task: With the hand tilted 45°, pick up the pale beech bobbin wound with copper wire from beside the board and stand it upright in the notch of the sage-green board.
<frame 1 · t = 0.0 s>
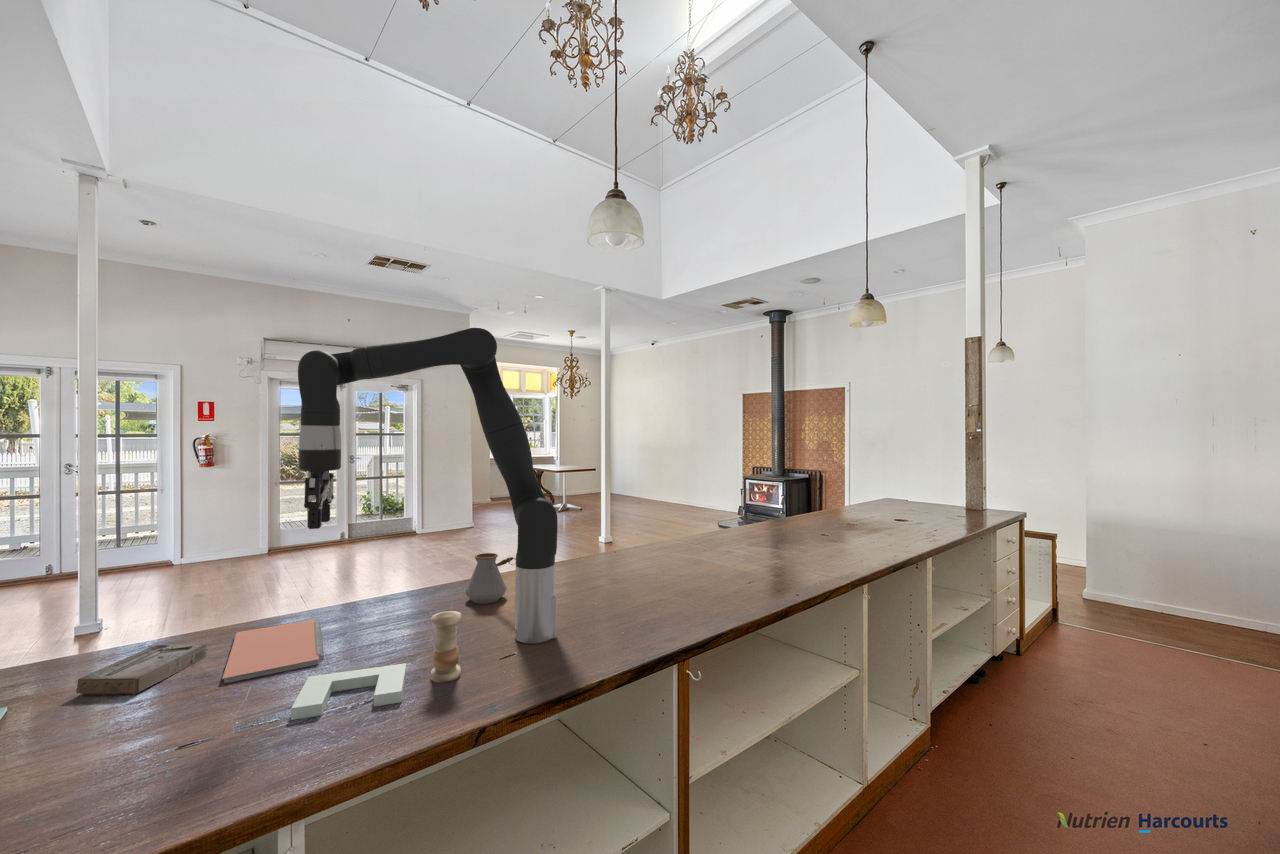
hand: (319, 525, 108), 29 cm above the counter, tool pointing down, fingers open, 8 cm apart
box: (147, 678, 103), on the counter
coffee pot: (494, 604, 147), on the counter
bobbin: (445, 675, 103), on the counter
notched board: (353, 694, 96), on the counter
notebook: (278, 653, 115), on the counter
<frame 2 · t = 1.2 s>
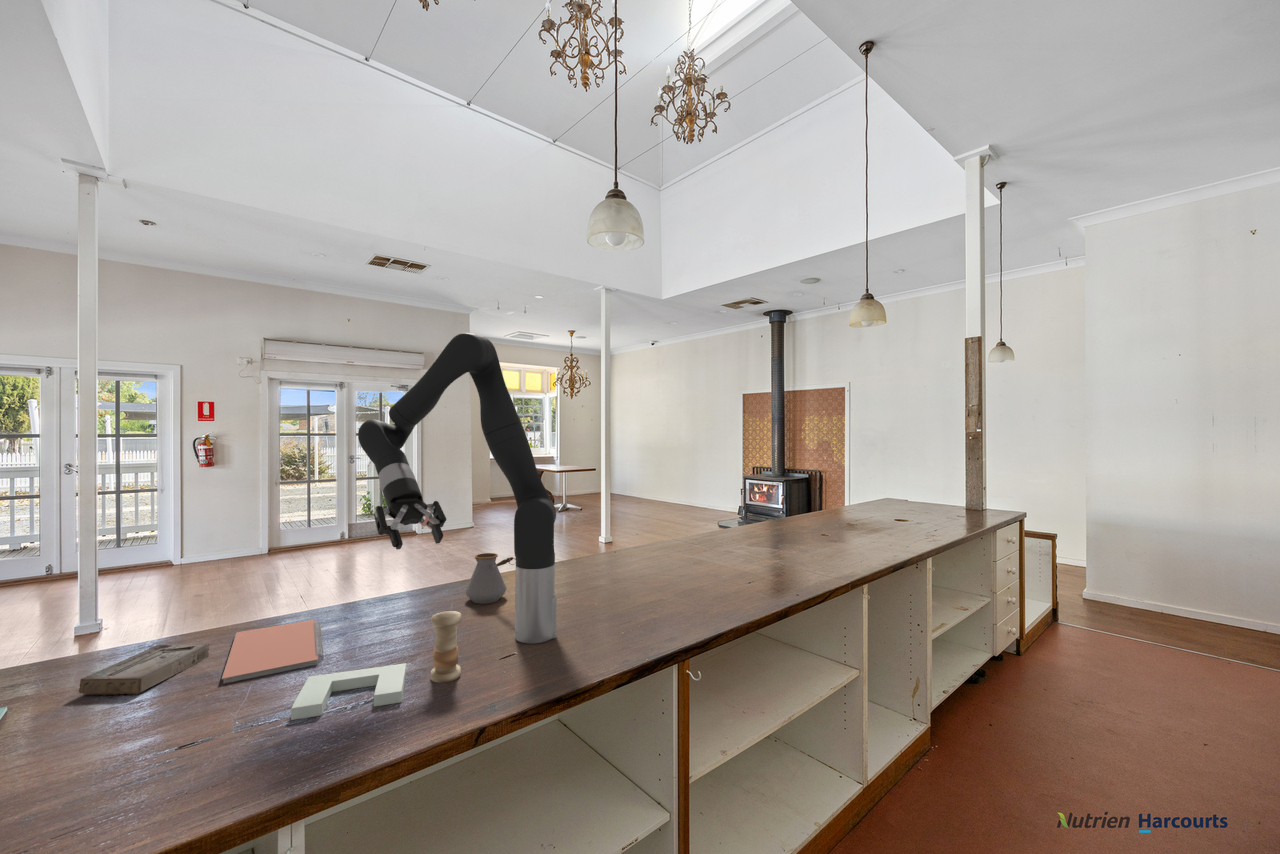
hand: (420, 544, 112), 25 cm above the counter, tool tilted 45°, fingers open, 8 cm apart
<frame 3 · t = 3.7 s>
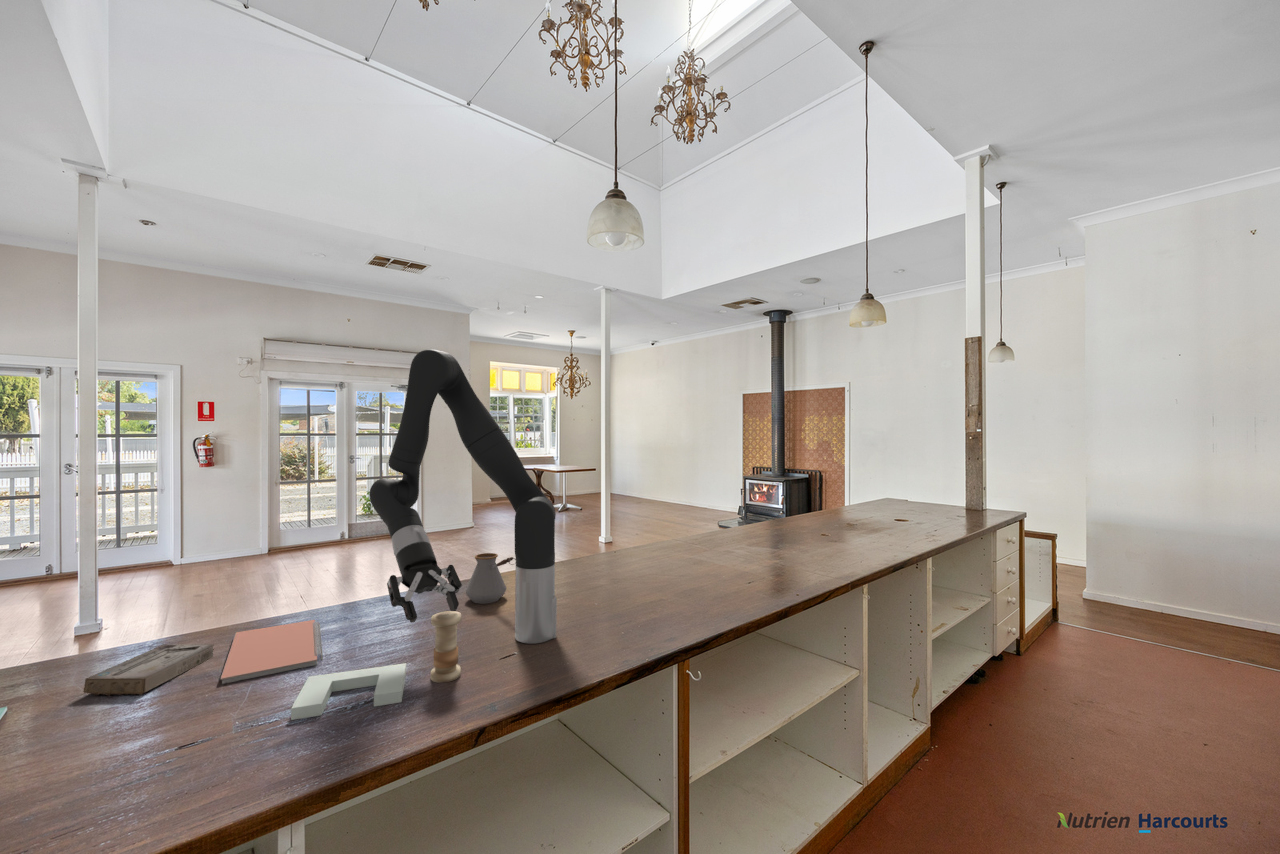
hand: (435, 615, 107), 11 cm above the counter, tool tilted 45°, fingers open, 8 cm apart
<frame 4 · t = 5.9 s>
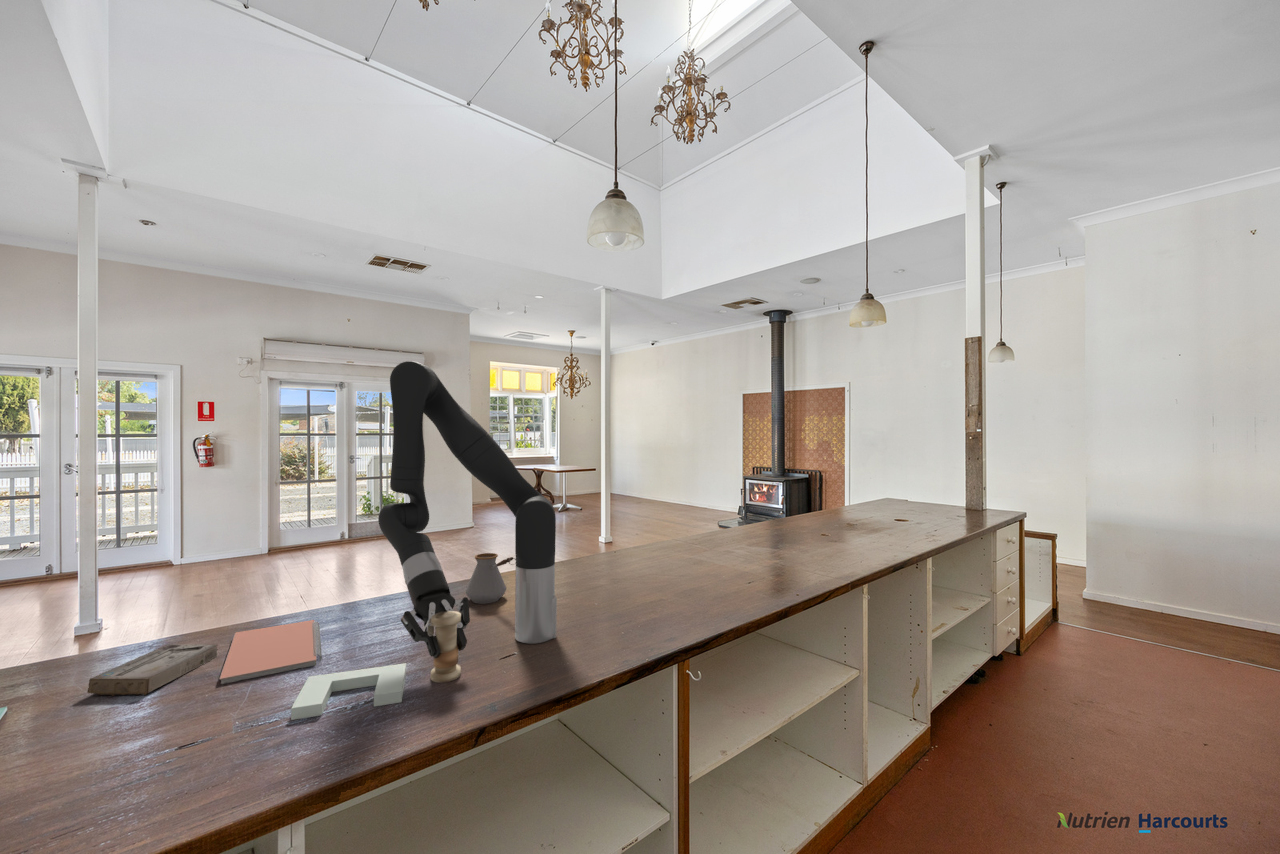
hand: (450, 651, 102), 5 cm above the counter, tool tilted 45°, fingers closed on bobbin, 4 cm apart
bobbin: (445, 675, 103), on the counter, touching gripper
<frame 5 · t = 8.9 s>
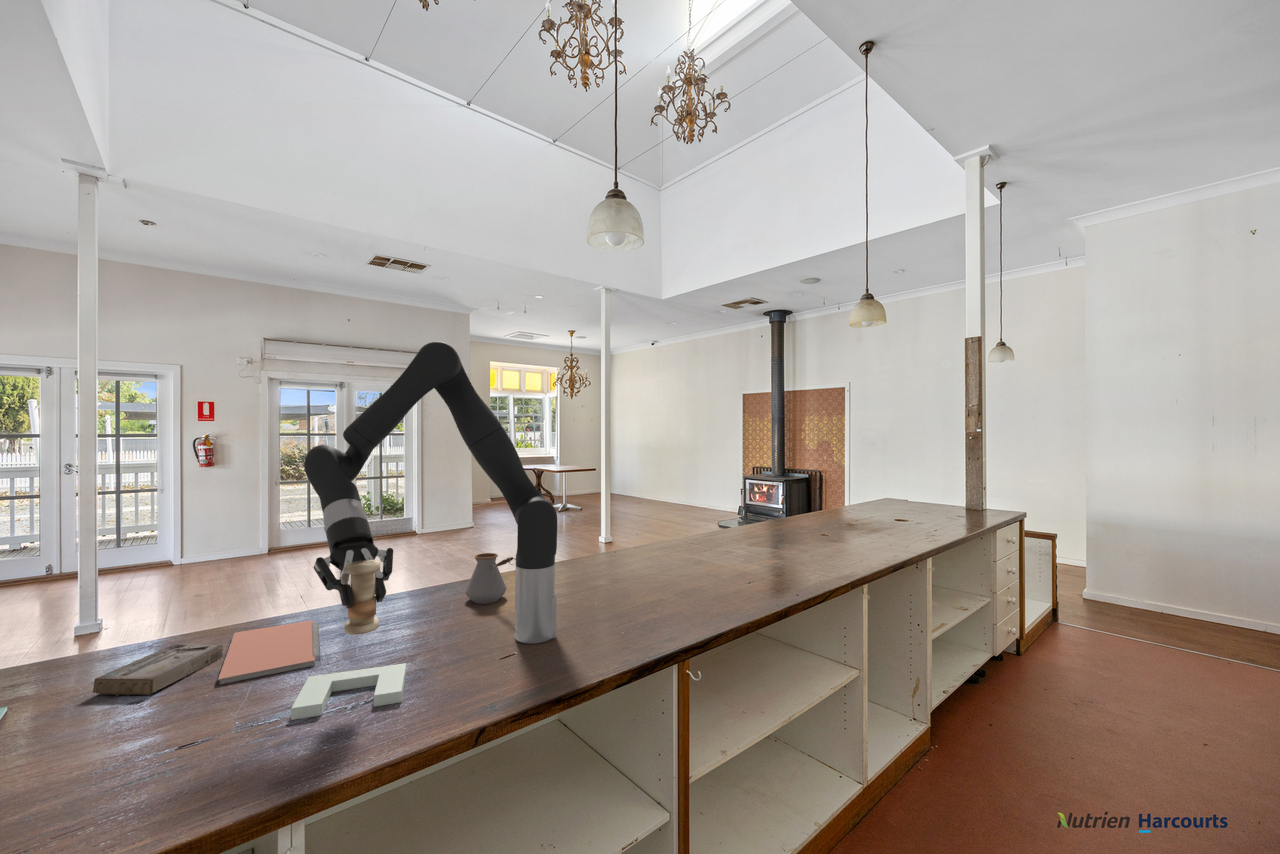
hand: (366, 602, 94), 18 cm above the counter, tool tilted 45°, fingers closed on bobbin, 4 cm apart
box: (163, 678, 103), on the counter
bobbin: (361, 628, 96), point 12 cm above the counter, touching gripper
everything else where it was.
when the fingers open (7 cm above the counter, at t = 12.1 s): bobbin drops 1 cm, on the counter.
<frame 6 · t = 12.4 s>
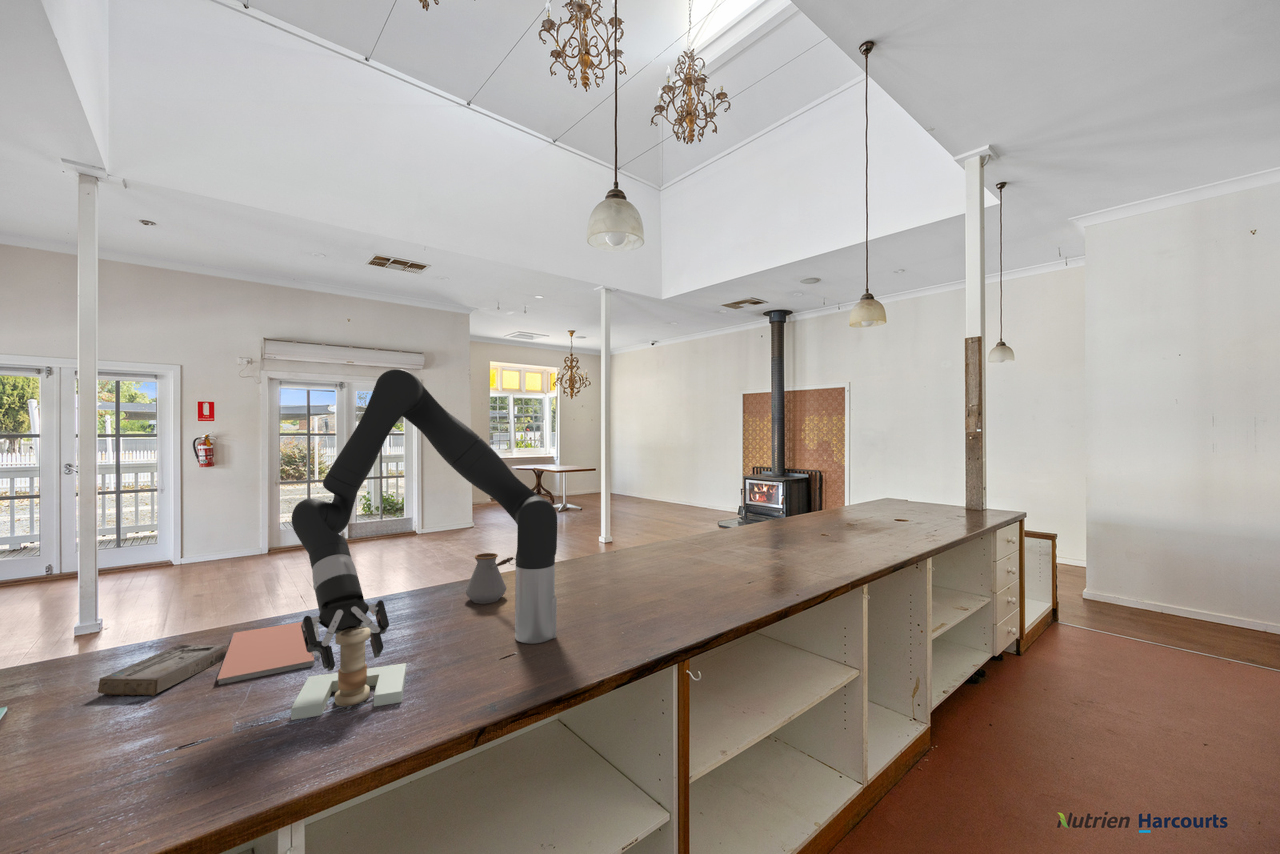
hand: (355, 661, 93), 7 cm above the counter, tool tilted 45°, fingers open, 7 cm apart
box: (168, 678, 103), on the counter
bobbin: (352, 698, 95), on the counter
everything else where it was.
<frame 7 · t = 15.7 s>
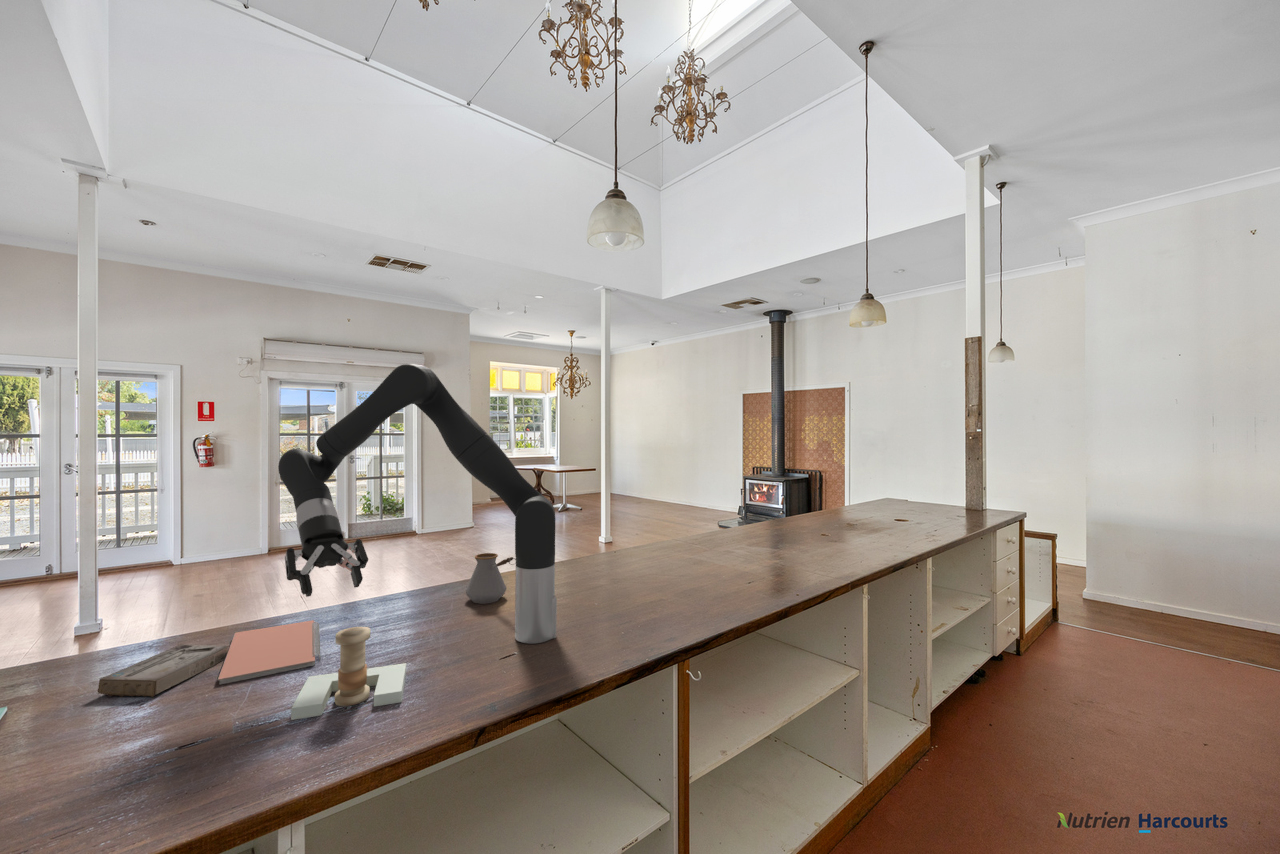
hand: (334, 589, 103), 17 cm above the counter, tool tilted 45°, fingers open, 8 cm apart
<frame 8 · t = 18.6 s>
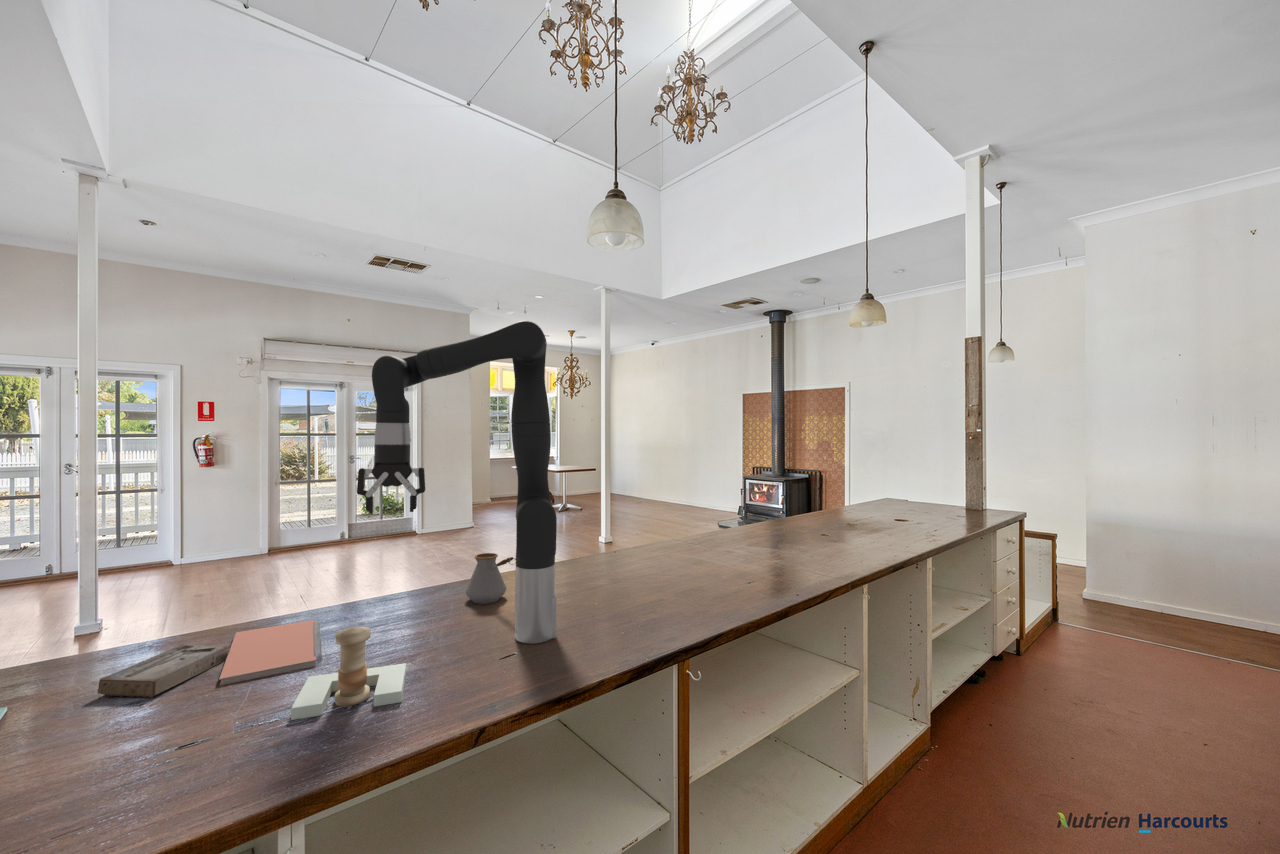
hand: (391, 512, 120), 30 cm above the counter, tool pointing down, fingers open, 8 cm apart
at the end: bobbin 0.4 cm from the target spot, on the counter; bobbin tilted 0°; the gripper is holding nothing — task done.
